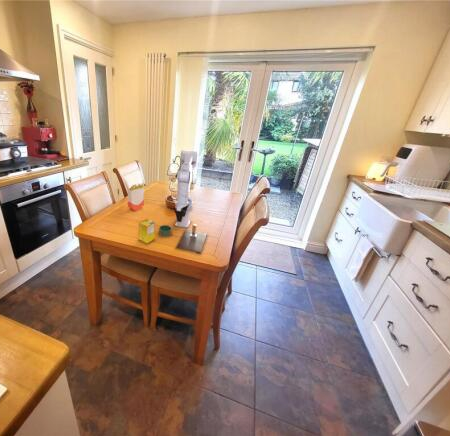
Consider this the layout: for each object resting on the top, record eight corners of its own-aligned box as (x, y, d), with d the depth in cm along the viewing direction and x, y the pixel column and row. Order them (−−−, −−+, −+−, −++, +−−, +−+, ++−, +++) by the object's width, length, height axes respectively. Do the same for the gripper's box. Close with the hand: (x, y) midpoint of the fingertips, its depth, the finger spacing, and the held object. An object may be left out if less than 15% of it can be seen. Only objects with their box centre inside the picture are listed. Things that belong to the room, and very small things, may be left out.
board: (185, 231, 134) (186, 229, 134) (206, 235, 131) (206, 233, 131) (176, 248, 117) (176, 247, 117) (200, 253, 114) (200, 252, 114)
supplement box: (146, 236, 127) (146, 218, 123) (154, 240, 124) (155, 221, 119) (138, 240, 123) (138, 222, 118) (147, 244, 120) (147, 225, 115)
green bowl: (161, 230, 134) (161, 224, 132) (172, 232, 132) (173, 226, 131) (157, 236, 128) (157, 229, 126) (169, 238, 126) (169, 231, 125)
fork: (190, 238, 125) (192, 223, 121) (196, 239, 124) (197, 224, 120) (189, 240, 123) (191, 225, 119) (195, 241, 122) (196, 226, 119)
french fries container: (127, 209, 159) (126, 184, 152) (139, 205, 167) (139, 181, 159) (131, 211, 157) (131, 186, 149) (143, 207, 164) (143, 182, 156)
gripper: (179, 189, 127) (177, 212, 132) (171, 197, 114) (170, 222, 120) (191, 191, 125) (189, 214, 130) (185, 199, 112) (183, 225, 118)
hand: (181, 218), depth 125 cm, fingers open, 7 cm apart
